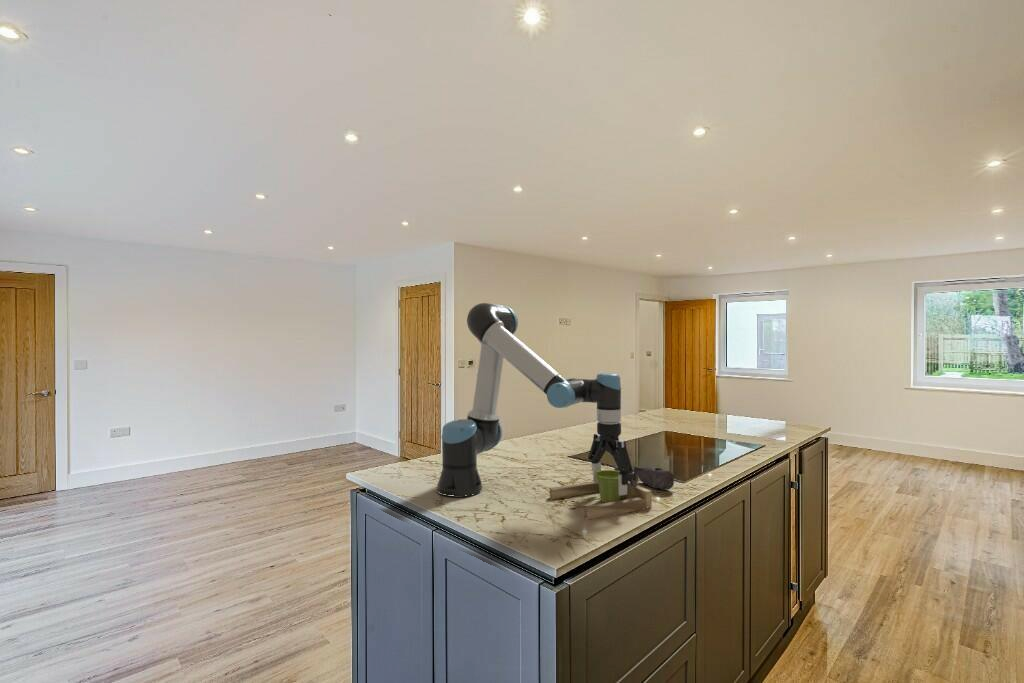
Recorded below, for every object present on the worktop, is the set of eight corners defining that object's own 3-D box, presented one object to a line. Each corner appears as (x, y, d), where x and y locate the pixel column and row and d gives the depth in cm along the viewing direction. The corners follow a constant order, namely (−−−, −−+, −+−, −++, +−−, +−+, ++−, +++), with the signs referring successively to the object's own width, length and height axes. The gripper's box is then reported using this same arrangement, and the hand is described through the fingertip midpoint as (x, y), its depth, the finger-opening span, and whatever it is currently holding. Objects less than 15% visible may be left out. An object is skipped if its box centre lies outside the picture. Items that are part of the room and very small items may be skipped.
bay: (550, 497, 158) (549, 462, 158) (608, 487, 168) (608, 454, 168) (588, 519, 138) (588, 479, 138) (652, 507, 148) (652, 469, 148)
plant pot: (606, 494, 161) (606, 468, 161) (631, 500, 154) (631, 473, 154) (589, 501, 155) (589, 473, 154) (614, 508, 148) (614, 479, 148)
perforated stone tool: (633, 482, 174) (633, 463, 174) (644, 480, 177) (644, 461, 177) (663, 494, 161) (663, 473, 161) (675, 491, 164) (675, 471, 163)
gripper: (644, 427, 145) (645, 498, 145) (595, 415, 168) (596, 477, 168) (624, 429, 142) (624, 502, 142) (577, 417, 164) (578, 480, 165)
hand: (609, 488), depth 155 cm, fingers open, 13 cm apart
